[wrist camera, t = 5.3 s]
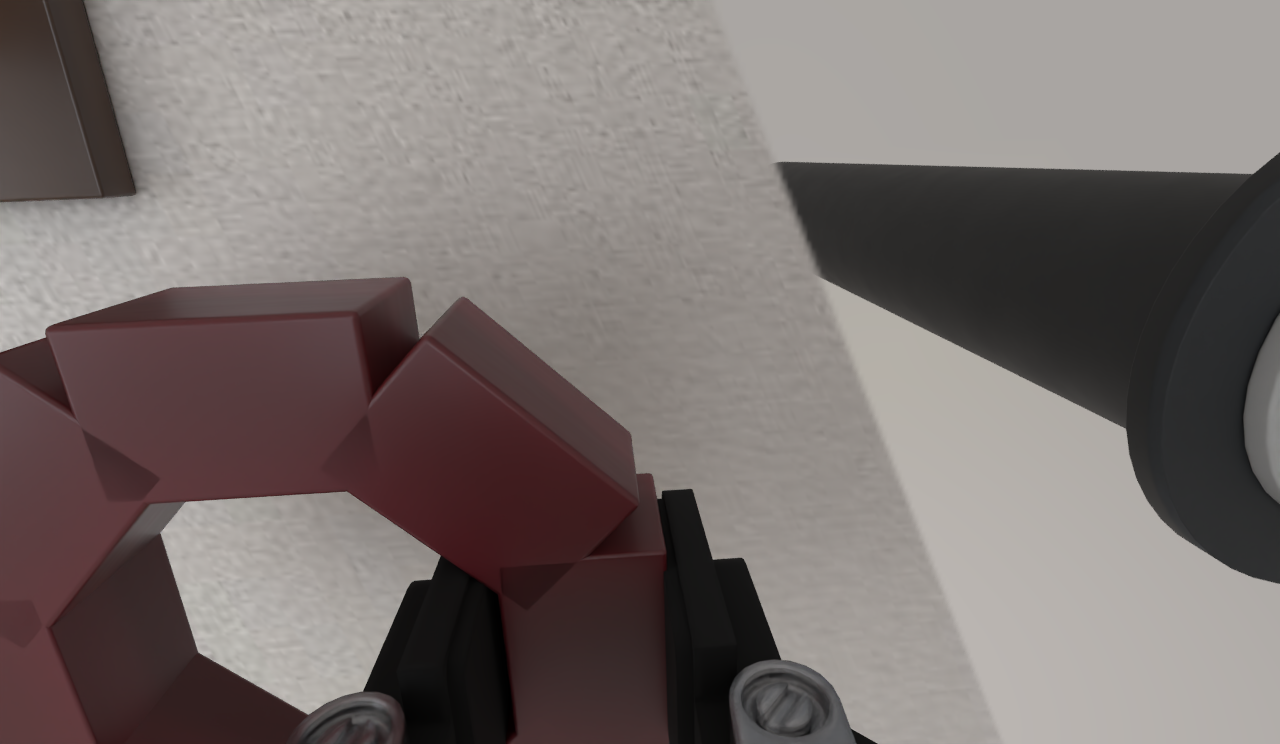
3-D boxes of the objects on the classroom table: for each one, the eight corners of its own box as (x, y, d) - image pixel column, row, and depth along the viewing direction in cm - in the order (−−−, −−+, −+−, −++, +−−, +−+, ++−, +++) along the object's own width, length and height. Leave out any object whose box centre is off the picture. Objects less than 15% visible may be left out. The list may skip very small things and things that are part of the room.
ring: (645, 264, 10) (660, 296, 8) (662, 779, 14) (676, 905, 11) (-84, 298, 10) (-297, 343, 7) (128, 826, 13) (29, 969, 11)
